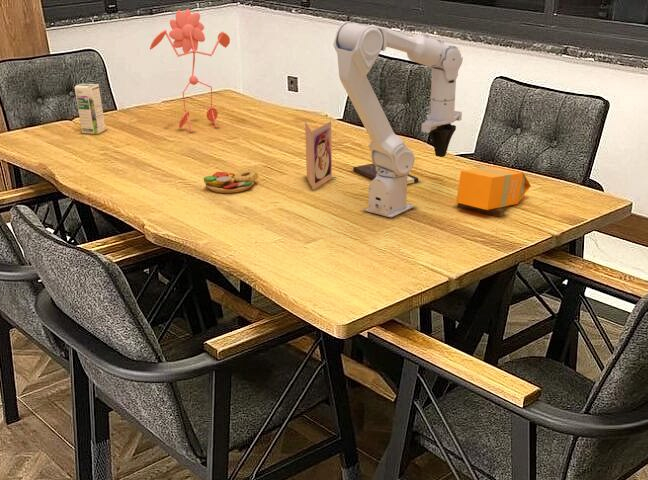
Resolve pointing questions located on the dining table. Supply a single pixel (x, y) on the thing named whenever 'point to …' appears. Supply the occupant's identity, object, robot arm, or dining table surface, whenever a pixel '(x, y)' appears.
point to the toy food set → (231, 181)
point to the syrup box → (90, 108)
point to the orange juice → (491, 187)
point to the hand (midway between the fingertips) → (440, 155)
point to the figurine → (187, 37)
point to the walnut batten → (495, 212)
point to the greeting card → (318, 155)
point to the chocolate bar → (371, 172)
